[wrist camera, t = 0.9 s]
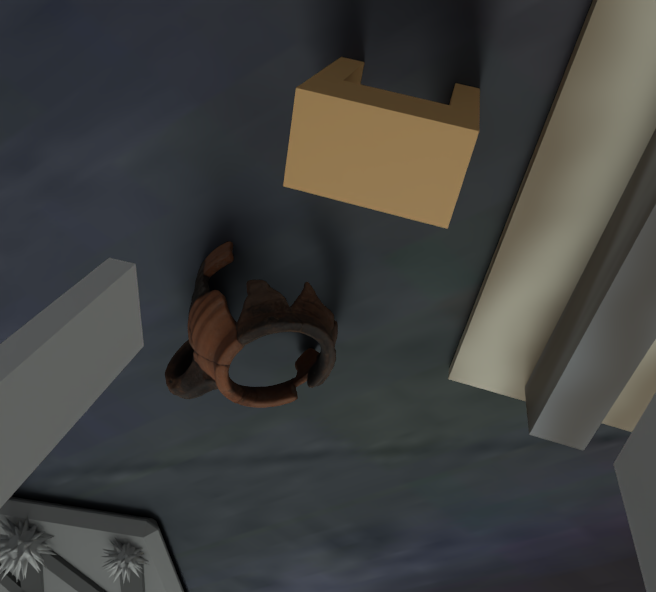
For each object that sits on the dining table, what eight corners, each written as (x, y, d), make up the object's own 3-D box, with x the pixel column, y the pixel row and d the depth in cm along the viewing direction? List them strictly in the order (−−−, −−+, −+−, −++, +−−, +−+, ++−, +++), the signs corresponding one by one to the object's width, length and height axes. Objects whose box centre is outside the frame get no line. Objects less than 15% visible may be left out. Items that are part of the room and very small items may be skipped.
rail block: (449, 369, 35) (444, 423, 31) (597, -13, 23) (623, -8, 19) (636, 422, 34) (658, 486, 30) (897, 48, 22) (994, 68, 18)
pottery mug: (250, 199, 33) (276, 284, 27) (343, 273, 39) (381, 357, 33) (124, 317, 36) (124, 416, 30) (228, 369, 42) (244, 460, 37)
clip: (328, 135, 29) (283, 186, 23) (341, 56, 27) (296, 87, 20) (455, 166, 29) (447, 228, 22) (479, 88, 26) (479, 131, 20)
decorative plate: (-2, 587, 71) (-45, 644, 65) (-79, 473, 60) (-140, 529, 54) (208, 631, 64) (180, 700, 58) (162, 510, 53) (122, 579, 47)
